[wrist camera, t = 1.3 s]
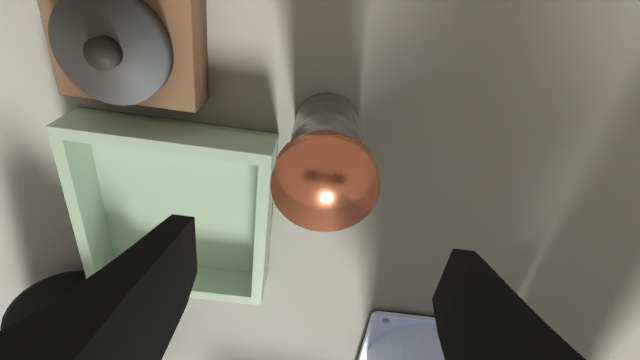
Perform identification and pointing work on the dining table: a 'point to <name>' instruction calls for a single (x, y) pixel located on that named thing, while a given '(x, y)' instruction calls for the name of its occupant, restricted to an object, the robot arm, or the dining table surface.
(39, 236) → the dining table surface
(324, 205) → the grey brown cylinder
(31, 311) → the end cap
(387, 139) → the dining table surface
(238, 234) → the tray
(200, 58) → the pulley block
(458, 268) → the robot arm
